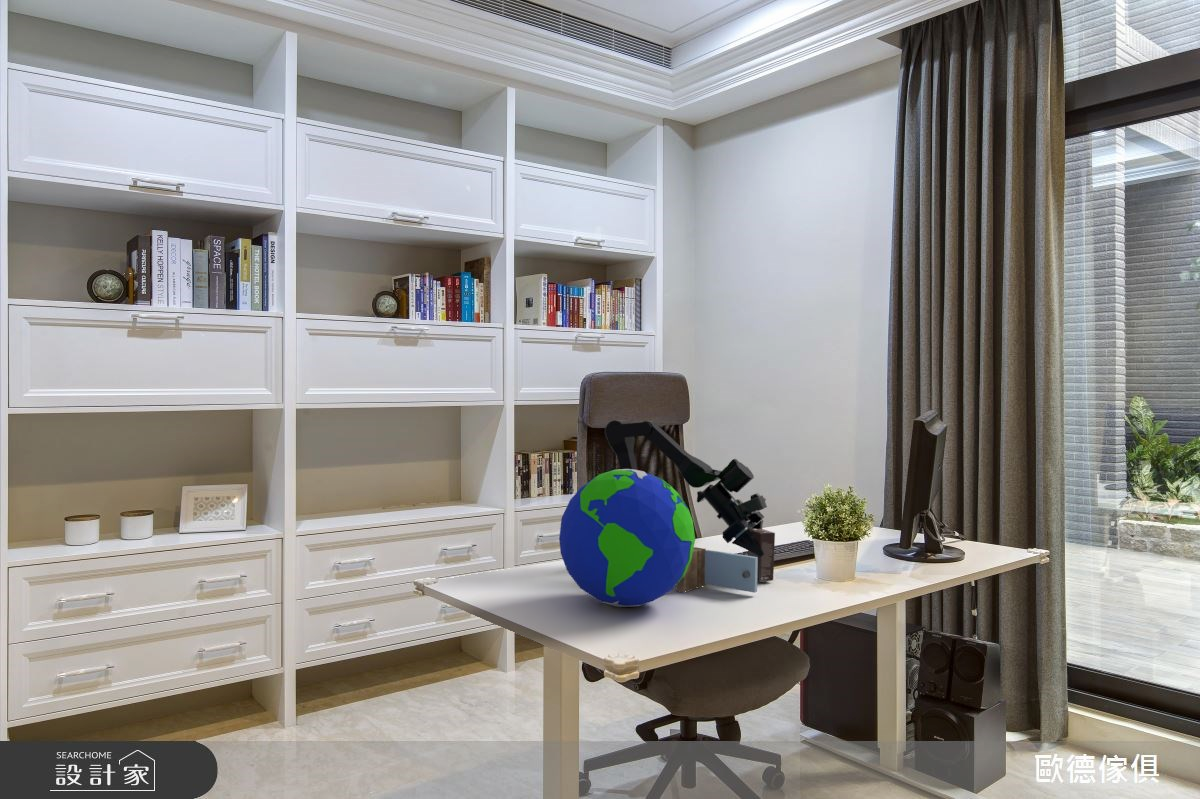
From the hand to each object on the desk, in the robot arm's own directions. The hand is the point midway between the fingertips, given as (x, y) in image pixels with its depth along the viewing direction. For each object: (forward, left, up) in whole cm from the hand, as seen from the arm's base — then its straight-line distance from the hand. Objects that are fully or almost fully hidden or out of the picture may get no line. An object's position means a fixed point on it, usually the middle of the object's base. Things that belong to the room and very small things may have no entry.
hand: (766, 552), depth 204 cm
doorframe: (-12, +11, -7) cm, 17 cm away
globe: (-40, +14, -7) cm, 43 cm away
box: (0, +1, -7) cm, 7 cm away
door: (-16, +2, -6) cm, 17 cm away
